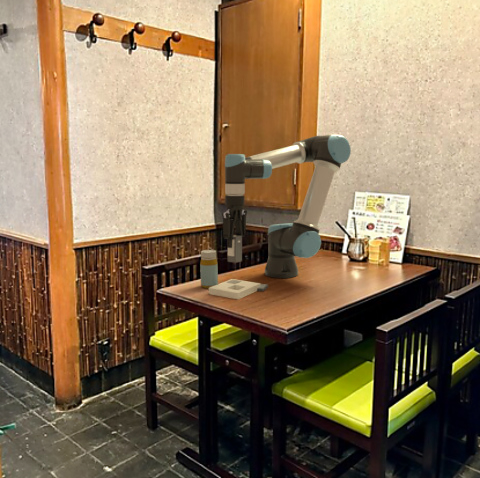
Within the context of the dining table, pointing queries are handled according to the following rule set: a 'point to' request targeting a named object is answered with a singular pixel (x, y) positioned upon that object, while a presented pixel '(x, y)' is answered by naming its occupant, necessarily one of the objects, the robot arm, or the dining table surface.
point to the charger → (236, 250)
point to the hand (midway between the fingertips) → (234, 254)
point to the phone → (262, 287)
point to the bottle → (208, 269)
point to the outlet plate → (234, 288)
